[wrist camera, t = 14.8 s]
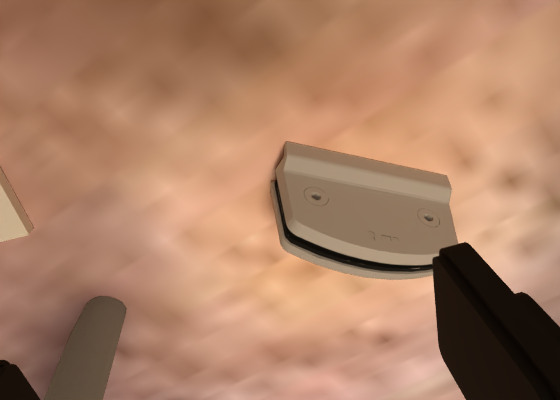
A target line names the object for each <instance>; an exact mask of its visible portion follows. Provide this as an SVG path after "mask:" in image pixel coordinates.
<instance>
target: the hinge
mask: <svg viewBox="0 0 560 400" xmlns="http://www.w3.org/2000/svg"><path fill="white" fill-rule="evenodd" d="M275 172H276V177H277V180H276V181H271V197H272V202H273V207H274V212H275V218H276V223H277V228H278V234H279V239H280V244H281V246H282V248H283V249H284V250H285V251H287V252H289V253H291V254H293V255H295V256H297V257H299V258H301V259H304V260H306V261H309V262H311V263H314V264H316V265H319V266H322V267H325V268H328V269H332V270H335V271H338V272H342V273H346V274H351V275H355V276H361V277H367V278H375V279H389V280H403V279H415V278H422V277H427V276H431V275H433V266H432V259H433V257H436V256H439V250H440V249H441V248H444V247H448V246H452V245H456V244H458V240H457V236H456V232H455V228H454V223H453V219H452V215H451V210H450V206H449V201H450V196H451V190H452V188H451V185H450V182H449V180H448V177H447V175H442V174H437V173H433V172H428V171H423V170H419V169H414V168H409V167H405V166H400V165H395V164H391V163H386V162H381V161H377V160H372V159H367V158H363V157H358V156H353V155H349V154H344V153H340V152H335V151H330V150H326V149H321V148H316V147H312V146H307V145H302V144H298V143H293V142H288V141H286V142H285V145H284V157H283V159H282V161H281V162H280V164H279V165H278V167H277V168H276V170H275Z"/></svg>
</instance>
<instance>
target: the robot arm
mask: <svg viewBox="0 0 560 400" xmlns="http://www.w3.org/2000/svg"><path fill="white" fill-rule="evenodd" d="M432 266H433V279H434V292H435V305H436V317H437V330H438V343H439V349H440V352H441V355H442V358H443V360H444V362H445V364H446V365H447V367H448V369H449V371H450V372H451V374H452V376H453V378H454V379H455V381H456V383H457V385H458V386H459V388H460V390H461V392H462V393H463V395H464V397H465V399H466V400H560V327H559V326H558V325H557V324H556V323H555V322H554V321H553V320H552V319H551V317H550V316H549V315H548V314H547V313H546V312H545V311H544V310H543V309H542V308H541V307H540V306H539V305H538V304H537V303H536V302H535V301H534V300H533V299H532V298H531V297H530V296H529V295H528V294H526V293H523V292H520V293H516V294H514V293H513V292H512V291H511V289H510V288H509V287H508V286H507V285H506V284H505V283H504V282H503V281H502V280H501V278H500V277H499V276H498V275H497V274H496V273H495V272H494V271H493V270H492V268H491V267H490V266H489V265H488V264H487V263H486V262H485V261H484V260H483V259H482V257H481V256H480V255H479V254H478V253H477V252H476V251H475V250H474V249H473V248H472V246H471V245H470V244H468V243H466V242H464V243H460V244H456V245H452V246H448V247H444V248H441V249H440V250H439V256H436V257H433V259H432ZM0 400H40V398H39V397H38V395H37V394H36V392H35V391H34V390H33V388H32V387H31V385H30V384H29V382H28V381H27V379H26V378H25V376H24V375H23V373H22V372H21V371H20V369H19V368H18V367H17V366H16V365H14V364H10V363H9V362H8V361H6V360H0Z"/></svg>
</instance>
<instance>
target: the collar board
mask: <svg viewBox="0 0 560 400" xmlns="http://www.w3.org/2000/svg"><path fill="white" fill-rule="evenodd" d="M33 228H34V227H33V226H32V224H31V222H30V220H29V218H28V217H27V215H26V213H25V211H24V209H23V207H22V206H21V204H20V202H19V200H18V198H17V197H16V195H15V193H14V191H13V189H12V188H11V186H10V184H9V182H8V180H7V178H6V177H5V175H4V173H3V171H2V169H1V168H0V242H3V241H7V240H11V239H15V238H19V237H23V236H27V235H29V234H30V233H31V231H32V230H33Z"/></svg>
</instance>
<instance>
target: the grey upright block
mask: <svg viewBox="0 0 560 400" xmlns="http://www.w3.org/2000/svg"><path fill="white" fill-rule="evenodd" d="M125 314H126V307H125V305H124V304H123V302H121V301H119V300H117V299H115V298H112V297H105V296H99V297H96V298H93V299H91V300H90V301H89V302H88V303H87V304H86V306H85V308H84V310H83V312H82V314H81V316H80V317H79V319H78V321H77V323H76V325H75V327H74V329H73V330H72V332H71V334H70V336H69V339H68V341H67V344H66V346H65V349H64V351H63V354H62V356H61V359H60V361H59V364H58V366H57V369H56V371H55V374H54V376H53V378H52V381H51V383H50V386H49V388H48V391H47V393H46V396H45V398H44V400H103V396H104V393H105V389H106V385H107V381H108V378H109V374H110V370H111V367H112V363H113V359H114V355H115V352H116V348H117V344H118V341H119V337H120V333H121V329H122V326H123V322H124V318H125Z"/></svg>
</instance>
